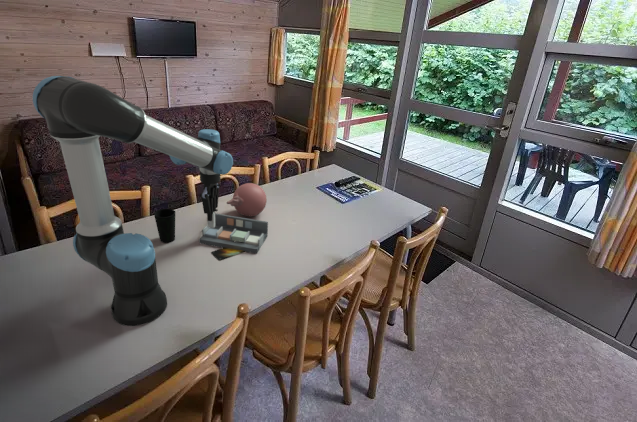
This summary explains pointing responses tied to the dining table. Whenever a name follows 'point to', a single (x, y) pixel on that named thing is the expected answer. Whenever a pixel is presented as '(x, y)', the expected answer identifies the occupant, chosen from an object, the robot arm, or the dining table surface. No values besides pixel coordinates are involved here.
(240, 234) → the key sage
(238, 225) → the keypad
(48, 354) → the dining table surface
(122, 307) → the robot arm
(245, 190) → the balloon
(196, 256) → the dining table surface
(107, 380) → the dining table surface
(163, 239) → the cup
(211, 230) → the key slate
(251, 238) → the key cream
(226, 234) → the key terracotta
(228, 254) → the smartphone
